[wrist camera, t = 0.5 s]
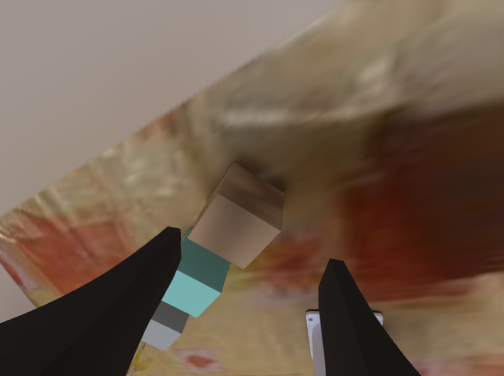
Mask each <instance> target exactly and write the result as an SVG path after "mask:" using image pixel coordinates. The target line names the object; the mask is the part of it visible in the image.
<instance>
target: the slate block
mask: <svg viewBox="0 0 504 376" xmlns="http://www.w3.org/2000/svg"><path fill="white" fill-rule="evenodd" d="M188 316H189V314H188V313H186V312H184V311H182V310H180V309H178V308H176V307H174V306H172V305H170V304H168V303H166V302H164V301H162V300H161V302H160V304H159V306H158V308H157V309H156V311H155V313H154V315H153V317H152V318H151V320H150V322H149V324H148V326H147V328H146V330H145V332H144V335H143V337H142V339H141V341H143V342H145V343H148V344H150V345H152V346H154V347H156V348H159V349H161V350H163V351H165V350H166V349H167V348H168V347H169V346H170V345H171V344H172V343H173V342H174V341H175V340H176V339H177V338H178V337H179V336H180V335H181V334H182V332H183V329H184V327H185V324H186V321H187V319H188Z"/></svg>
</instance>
